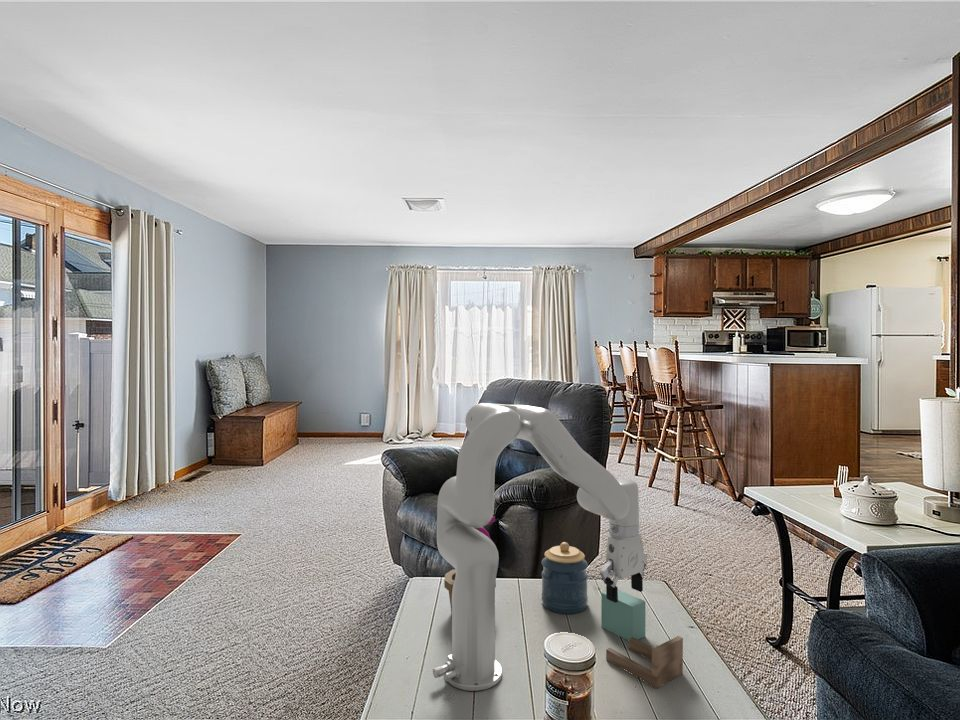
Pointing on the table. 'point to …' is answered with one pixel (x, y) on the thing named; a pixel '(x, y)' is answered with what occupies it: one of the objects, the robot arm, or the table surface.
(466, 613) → the robot arm
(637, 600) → the teal rectangular block
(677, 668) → the book slot
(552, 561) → the canister
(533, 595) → the table surface
